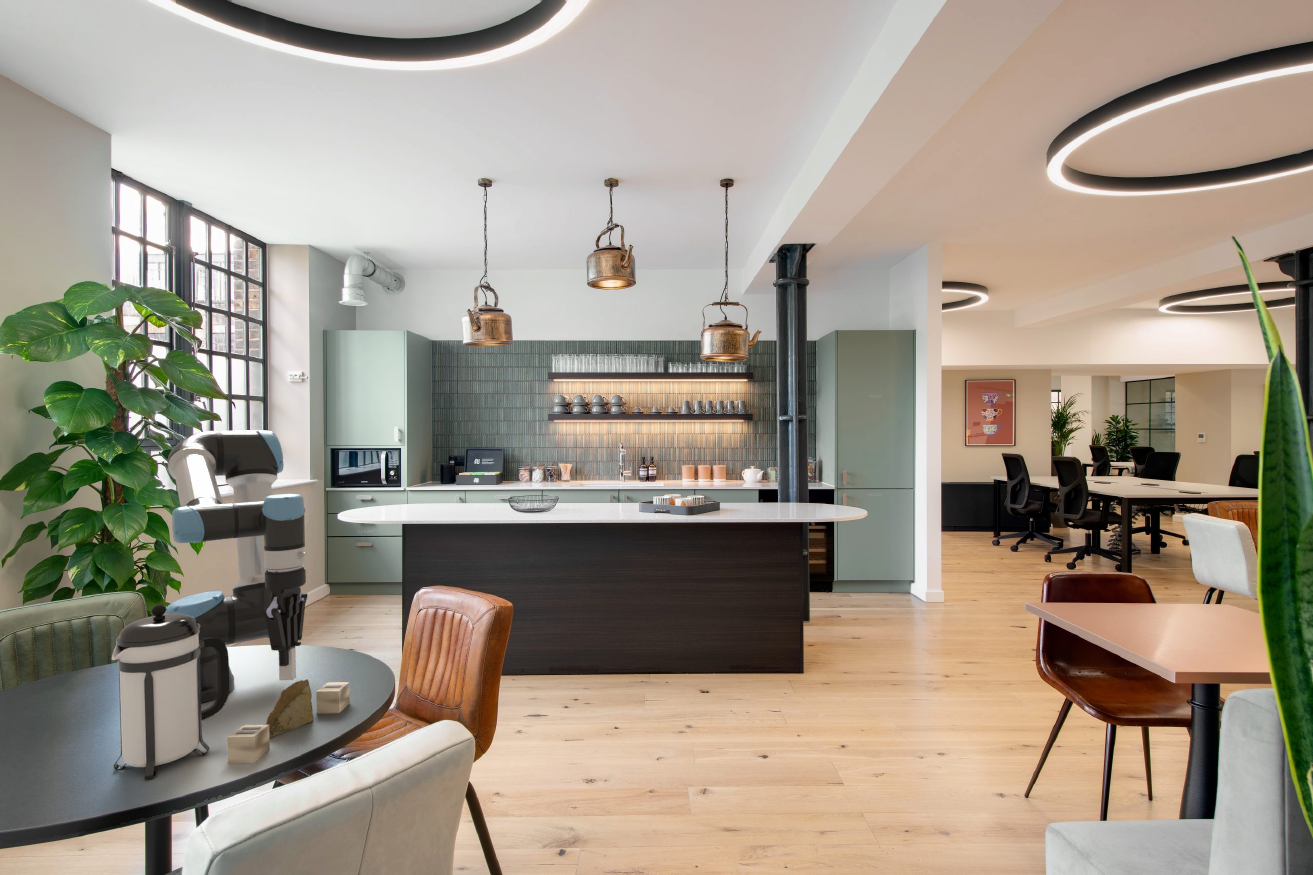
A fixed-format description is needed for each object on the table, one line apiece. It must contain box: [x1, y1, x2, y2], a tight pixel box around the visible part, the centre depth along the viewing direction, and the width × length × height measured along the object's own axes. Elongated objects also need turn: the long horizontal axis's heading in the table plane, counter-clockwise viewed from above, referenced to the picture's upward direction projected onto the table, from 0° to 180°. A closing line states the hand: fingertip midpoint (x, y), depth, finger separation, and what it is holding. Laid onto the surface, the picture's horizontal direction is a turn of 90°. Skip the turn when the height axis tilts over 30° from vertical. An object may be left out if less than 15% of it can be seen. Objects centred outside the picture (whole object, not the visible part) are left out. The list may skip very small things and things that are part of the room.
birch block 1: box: [226, 724, 271, 764], centre depth 126 cm, size 5×5×5 cm
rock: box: [265, 679, 314, 738], centre depth 138 cm, size 11×9×10 cm
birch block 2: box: [315, 681, 351, 714], centre depth 147 cm, size 5×5×5 cm
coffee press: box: [111, 604, 230, 781], centre depth 126 cm, size 17×16×30 cm
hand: (287, 678), depth 138 cm, fingers closed
